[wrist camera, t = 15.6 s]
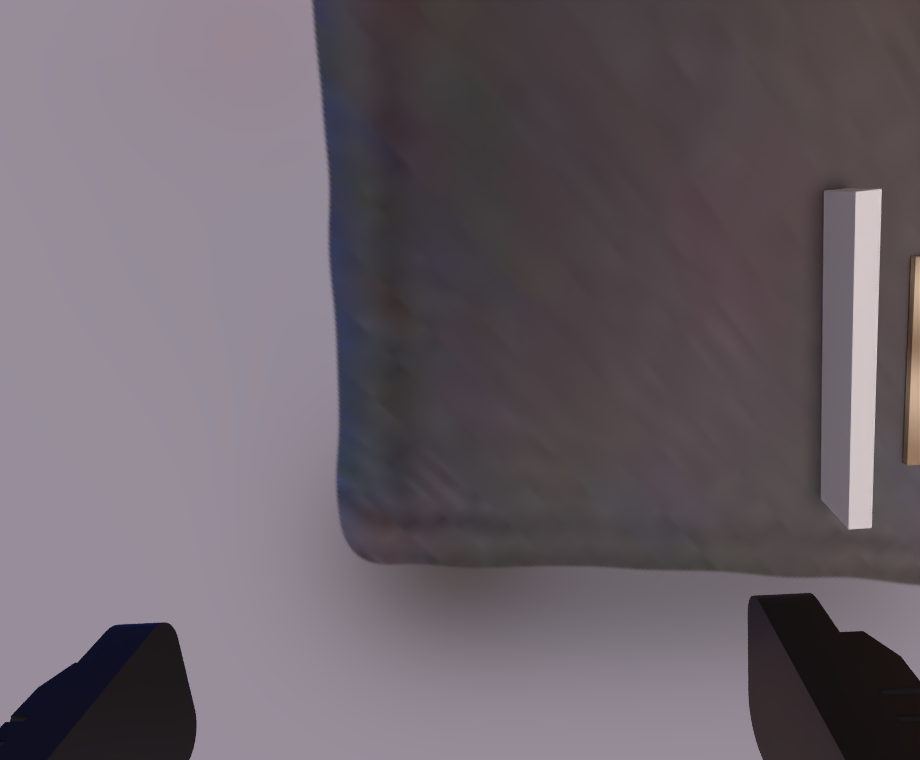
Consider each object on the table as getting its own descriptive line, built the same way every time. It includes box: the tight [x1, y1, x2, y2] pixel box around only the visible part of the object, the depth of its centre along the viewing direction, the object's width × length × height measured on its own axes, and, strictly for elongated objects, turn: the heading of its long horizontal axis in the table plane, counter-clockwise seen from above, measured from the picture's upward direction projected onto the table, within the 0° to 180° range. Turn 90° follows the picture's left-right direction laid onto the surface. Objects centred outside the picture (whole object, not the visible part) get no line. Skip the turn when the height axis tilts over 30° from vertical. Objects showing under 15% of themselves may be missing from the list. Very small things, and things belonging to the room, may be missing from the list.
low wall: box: [821, 188, 882, 529], centre depth 40 cm, size 18×1×4 cm, turn 6°
